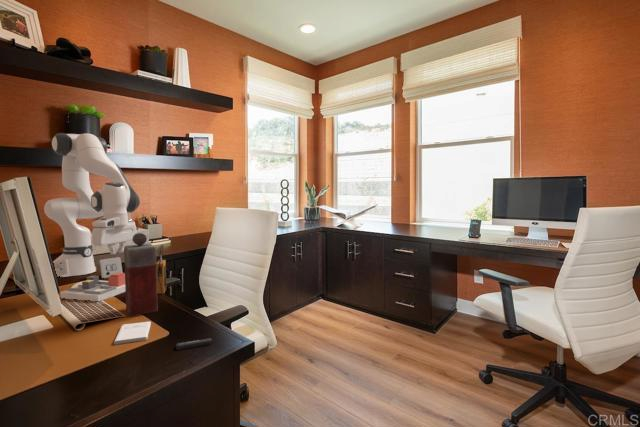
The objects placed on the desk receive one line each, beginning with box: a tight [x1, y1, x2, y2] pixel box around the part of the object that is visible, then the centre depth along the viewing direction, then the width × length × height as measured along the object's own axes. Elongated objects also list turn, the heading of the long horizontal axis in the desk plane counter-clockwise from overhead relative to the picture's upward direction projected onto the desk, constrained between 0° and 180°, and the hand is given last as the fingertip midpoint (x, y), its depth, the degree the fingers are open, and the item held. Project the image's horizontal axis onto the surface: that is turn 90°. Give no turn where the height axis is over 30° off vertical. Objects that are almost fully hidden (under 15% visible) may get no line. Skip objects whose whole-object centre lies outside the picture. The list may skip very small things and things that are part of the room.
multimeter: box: [156, 245, 167, 298], centre depth 140 cm, size 15×10×20 cm
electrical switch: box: [98, 256, 124, 279], centre depth 167 cm, size 9×5×9 cm, turn 141°
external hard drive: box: [113, 321, 152, 345], centre depth 100 cm, size 2×8×12 cm
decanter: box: [123, 232, 159, 317], centre depth 120 cm, size 9×11×28 cm
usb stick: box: [175, 338, 213, 351], centre depth 93 cm, size 10×3×2 cm, turn 113°
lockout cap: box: [107, 272, 125, 287], centre depth 143 cm, size 5×5×5 cm
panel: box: [59, 279, 126, 302], centre depth 139 cm, size 18×18×4 cm
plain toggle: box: [85, 275, 100, 284], centre depth 143 cm, size 3×3×4 cm
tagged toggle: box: [81, 280, 95, 289], centre depth 135 cm, size 3×3×4 cm
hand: (117, 253), depth 142 cm, fingers closed
